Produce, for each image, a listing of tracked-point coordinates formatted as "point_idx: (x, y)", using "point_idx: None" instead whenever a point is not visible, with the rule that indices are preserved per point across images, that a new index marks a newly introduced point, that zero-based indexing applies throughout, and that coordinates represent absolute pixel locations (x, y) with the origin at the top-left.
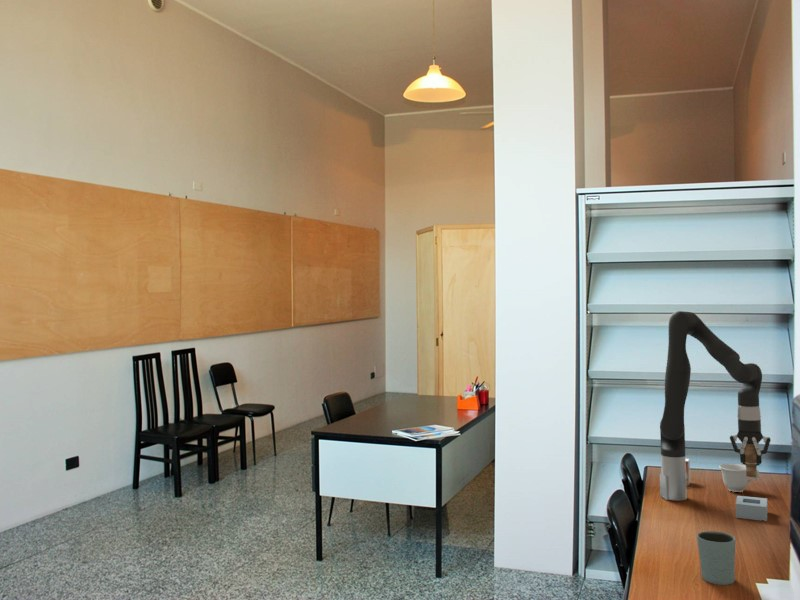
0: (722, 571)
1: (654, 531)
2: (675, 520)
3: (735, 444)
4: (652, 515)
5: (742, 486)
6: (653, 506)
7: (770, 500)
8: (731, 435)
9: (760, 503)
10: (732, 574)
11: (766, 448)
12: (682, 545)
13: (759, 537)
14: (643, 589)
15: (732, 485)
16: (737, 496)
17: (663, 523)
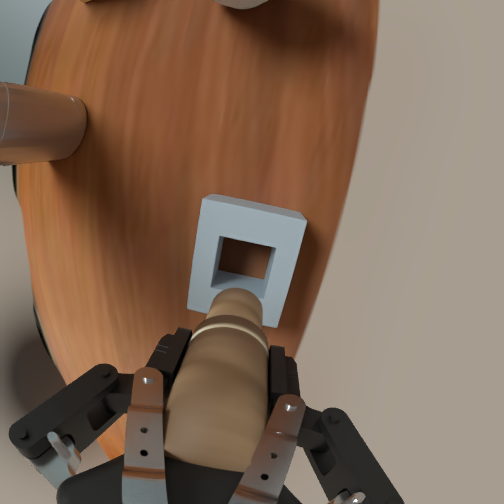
0: None
1: (75, 377)
2: (81, 324)
3: (90, 440)
4: (44, 295)
5: (259, 3)
6: (33, 226)
7: (335, 73)
8: (15, 446)
9: (267, 293)
10: None
11: (331, 469)
12: (123, 424)
13: None
14: None
15: (225, 4)
16: (201, 212)
17: (71, 341)
